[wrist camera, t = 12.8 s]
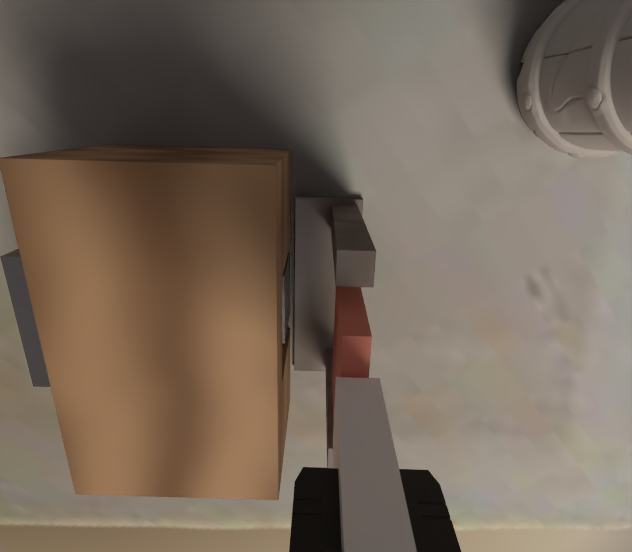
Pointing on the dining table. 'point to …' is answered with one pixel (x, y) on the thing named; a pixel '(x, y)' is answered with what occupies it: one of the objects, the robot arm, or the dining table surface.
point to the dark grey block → (28, 323)
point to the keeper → (350, 336)
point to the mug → (580, 79)
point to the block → (179, 309)
